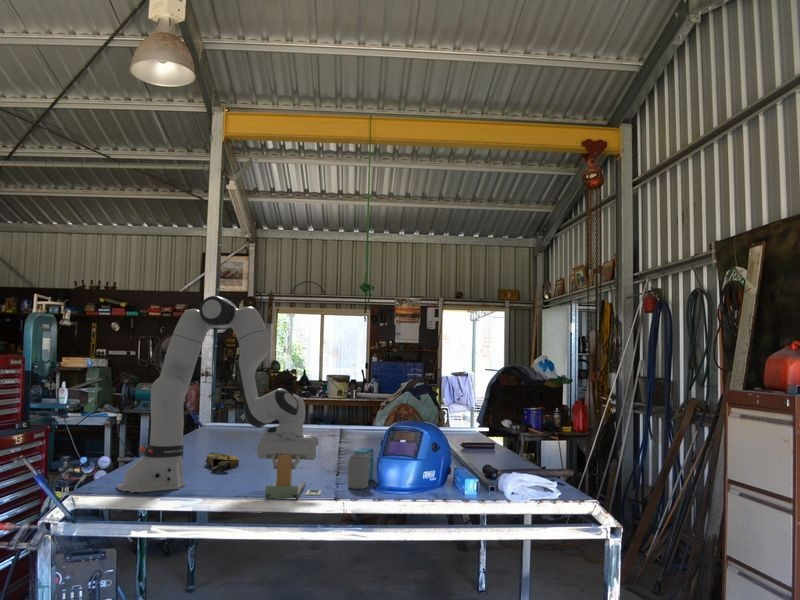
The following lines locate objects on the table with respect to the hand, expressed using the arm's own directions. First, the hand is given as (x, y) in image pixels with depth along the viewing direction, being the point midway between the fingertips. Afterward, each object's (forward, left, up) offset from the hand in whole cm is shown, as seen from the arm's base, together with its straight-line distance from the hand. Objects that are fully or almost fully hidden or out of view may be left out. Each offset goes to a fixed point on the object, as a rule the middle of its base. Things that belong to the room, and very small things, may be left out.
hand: (284, 468), depth 224 cm
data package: (+42, +3, -10) cm, 43 cm away
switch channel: (+8, +3, -9) cm, 13 cm away
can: (+30, -6, -10) cm, 32 cm away
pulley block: (+18, +63, -10) cm, 66 cm away
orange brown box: (0, 0, -6) cm, 6 cm away
